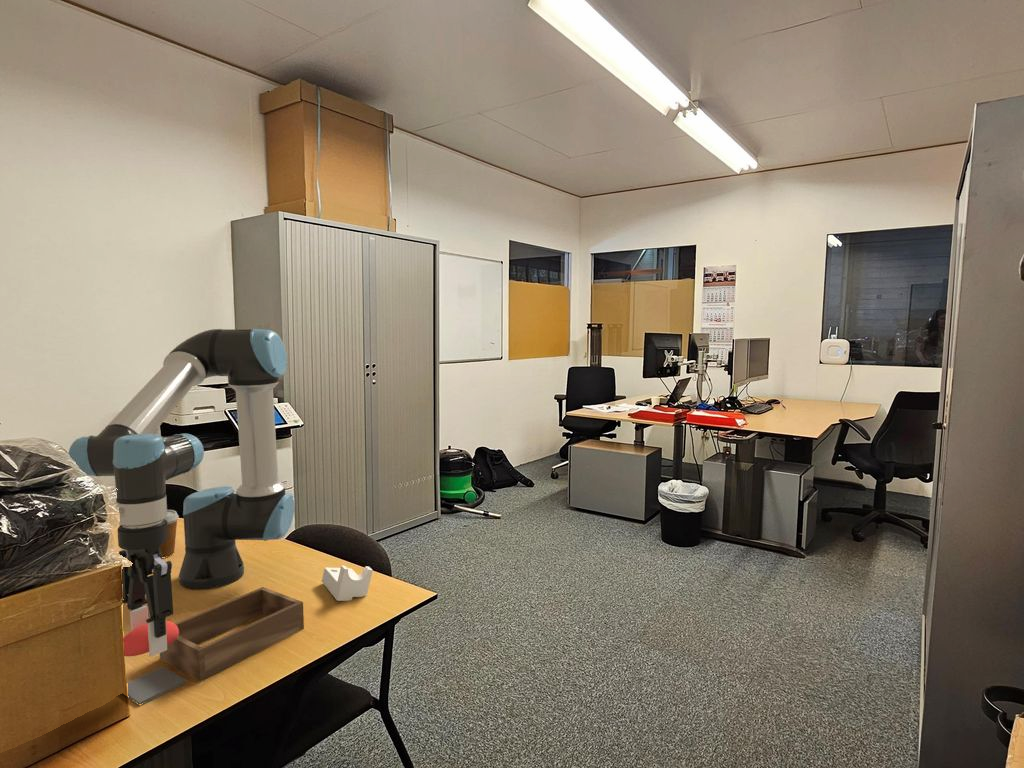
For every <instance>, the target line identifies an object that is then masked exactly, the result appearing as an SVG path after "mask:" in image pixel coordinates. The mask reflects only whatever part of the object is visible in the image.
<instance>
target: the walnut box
mask: <svg viewBox="0 0 1024 768" xmlns="http://www.w3.org/2000/svg"><path fill="white" fill-rule="evenodd" d="M261 616H264V617H263V618H261V619H258V620H256V621H254V622H252V623H249V624H247V625H245V626H243V627H241V628H239V629H236V630H234V631H232V632H230V633H228V634H225V635H223V636H221V637H219V638H217V639H215V640H213V641H211V642H208V643H206V644H204V645H202V646H200V644H202V643H204V642H207V641H210V640H211V639H213V638H216V637H217V636H220V635H222V634H224V633H227V632H229V631H231V630H233V629H235V628H238V627H239V626H241V625H244V624H246V623H248V622H250V621H253V620H255V619H257V618H259V617H261ZM304 617H305V615H304V601H301V600H298V599H296V598H293V597H290V596H287V595H286V594H283V593H280V592H277V591H275V590H272V589H270V588H266V587H264V586H262V587H260V588H256V589H255V590H252V591H250V592H247V593H244V594H243V595H239V596H237V597H234V598H233V599H231V600H228V601H225V602H223V603H221V604H218V605H215V606H213V607H211V608H209V609H206V610H204V611H201V612H198V613H196V614H195V615H191V616H189V617H187V618H185V619H181V620H180V621H177V622H173V623H174V624H175V625H177V627H178V629H179V635H178V637H177V638H176V639H175V640H174V641H173V642H172V643H170V644H169V645H167V650H166V651H164V652H161V653H159V660H160V661H163V662H164V663H165V664H168V665H170V666H172V667H174V668H175V669H177V670H179V671H180V672H182V673H184V674H186V675H187V676H189V677H191V678H193V679H194V680H196V681H198V682H203V681H205V680H207V679H209V678H211V677H213V676H215V675H217V674H219V673H221V672H222V671H223V672H224V670H227V669H228V668H230V667H232V666H234V665H236V664H238V663H240V662H242V661H244V660H245V659H248V658H249V657H252V656H254V655H255V654H257V653H259V652H261V651H263V650H265V649H267V648H269V647H271V646H273V645H275V644H277V643H280V641H282V640H285V639H287V638H288V637H289V638H290V636H293V635H294V634H296V633H298V632H301V631H302V630H304V629H305V625H304V624H305V623H304V622H305V619H304Z"/></svg>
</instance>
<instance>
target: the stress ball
mask: <svg viewBox="0 0 1024 768" xmlns="http://www.w3.org/2000/svg"><path fill="white" fill-rule="evenodd" d="M174 623H175V622H173V621H169V620H166V633H167V645H169V644H170V643H172V642H173V641H174V640H175V639H176V638H177V637H178V635H179V629H178V627H177V625H175V624H174ZM122 639H123V642H124V656H123V657H136V656H140V655H144V654H147V653H149V640H148V623H147V624H144V625H141V626H139V627H137V628H135V629H134V630H132V631H131V630H130V631H129V632H128V633H127V634H126V635H124V636H123V638H122Z"/></svg>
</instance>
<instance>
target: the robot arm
mask: <svg viewBox="0 0 1024 768" xmlns="http://www.w3.org/2000/svg"><path fill="white" fill-rule="evenodd" d="M287 358H288V355H287V350H286V347H285V344H284V342H283V340H282V339H281V336H280V335H279V334H278V333H276V332H275V331H274V330H271V329H262V328H261V329H260V328H244V329H243V328H241V329H239V328H237V329H235V328H234V329H223V328H222V329H221V328H217V329H216V328H213V329H208V330H204V331H201V332H198V333H197V334H194V335H193V336H191V337H188V338H187V339H185V340H184V341H182V342H180V344H178V345H176V346H175V347H174V348H173V349H172V350H170V352H169V353H168V354H166V356H165V358H164V359H163V361H162V363H163V364H162V365H163V366H162V367H161V368H160V369H159V370H158V371H157V372H156V373H155V375H154V376H153V377H152V378H151V379H150V380H149V381H148V382H147V383H146V384H145V385H144V386H143V387H142V388H141V389H140V391H138V393H136V395H134V397H132V399H131V400H130V401H129V402H128V403H127V404H126V405H125V406H124V407H123V408H122V409H121V410H120V412H119V413H117V415H115V417H114V418H113V419H112V420H111V421H110V422H109V423H108V424H107V425H105V428H104V429H102V430H101V431H100V433H99V434H97V435H95V436H94V435H89V436H82V437H79V438H76V439H75V440H74V441H73V443H72V444H71V445H70V447H69V449H68V453H67V455H68V454H69V455H70V457H71V458H72V459H73V460H74V461H75V462H76V464H77V465H78V466H79V468H80V469H81V470H82V471H83V472H85V473H86V474H87V475H86V476H91V477H92V476H93V477H114V484H115V493H116V492H117V499H116V498H115V503H116V504H115V505H116V508H117V507H119V513H120V523H119V524H118V525H119V526H118V528H117V544H118V548H119V549H122V550H120V551H118V555H119V554H120V555H122V556H123V557H125V558H127V559H128V560H129V561H131V562H132V563H133V564H132V566H130V567H123V569H122V584H123V599H124V600H123V602H122V604H124V605H125V604H126V607H127V609H128V610H129V618H130V621H129V622H130V631H132V630H134V629H135V628H137V627H139V626H141V625H144V624H147V623H148V640H149V652H148V655H149V657H155V656H157V655H160V653H161V652H164V651H166V650H167V633H166V621H167V619H166V618H167V617H170V616H173V615H174V602H173V588H172V568H173V563H172V561H171V560H167V561H164V559H163V558H162V554H161V550H160V546H161V545H162V544H163V543H164V542H166V541H167V539H168V524H167V521H166V520H165V518H166V517H167V510H168V504H167V503H168V502H167V494H166V493H167V491H166V484H167V483H166V481H169V480H171V479H172V478H175V477H178V476H180V475H183V474H186V473H189V472H191V470H192V469H193V470H194V469H195V468H197V467H198V466H199V465H200V464H201V463H202V461H203V459H204V455H205V450H204V445H203V443H202V442H201V440H200V439H199V438H198V437H197V436H195V435H192V434H190V433H179V434H178V433H175V434H173V435H171V436H162V435H160V434H158V433H155V432H156V431H157V430H158V428H160V426H161V425H162V424H163V423H164V421H165V420H166V419H167V418H168V417H169V415H170V414H171V413H172V412H173V411H174V410H175V408H176V407H177V406H178V404H180V402H181V401H183V399H184V397H185V396H186V395H187V394H188V393H189V391H191V389H192V388H193V387H195V386H200V385H201V384H202V383H203V382H204V381H205V379H207V378H211V377H227V383H228V386H229V387H230V388H231V389H232V390H234V392H235V401H236V414H237V429H238V443H239V446H238V447H239V458H240V473H241V475H240V476H241V484H240V486H238V487H237V488H236V491H235V490H234V488H233V486H229V485H225V486H217V487H210V488H205V489H202V490H199V491H196V492H193V493H191V494H189V495H187V496H186V497H185V498H184V501H183V506H182V507H183V510H182V516H183V529H184V533H183V534H184V546H185V554H184V557H183V560H182V563H181V566H180V571H179V574H178V583H179V586H180V587H182V588H184V589H186V590H187V589H188V590H195V591H196V590H199V591H200V590H210V589H215V588H219V587H224V586H226V585H230V584H232V583H234V582H237V580H239V579H241V578H242V577H243V575H244V573H245V565H244V562H243V561H244V560H243V559H242V557H241V555H240V552H239V550H238V547H237V544H236V541H240V540H241V541H243V540H244V541H264V542H265V541H266V542H267V541H273V540H281V539H282V538H284V537H285V536H286V535H287V533H288V532H289V530H290V528H291V525H292V522H293V519H294V517H295V515H294V514H295V511H296V510H295V509H296V508H295V507H296V506H295V505H296V502H295V501H296V500H295V498H294V496H293V494H292V493H291V494H290V493H286V485H285V483H283V482H282V481H281V480H279V470H278V452H277V438H276V437H277V436H276V435H277V434H276V418H275V403H274V402H275V401H274V399H275V398H274V388H276V386H277V385H278V384H279V383H280V380H279V379H280V377H282V376H283V375H285V373H286V371H287V365H288V359H287ZM116 488H117V489H118V490H117V489H116ZM122 584H121V585H122Z"/></svg>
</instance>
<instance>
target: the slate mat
mask: <svg viewBox="0 0 1024 768" xmlns="http://www.w3.org/2000/svg"><path fill="white" fill-rule="evenodd" d="M127 683H128V696H129V698H128V699H129V700H130V699H131V700H130V701H132V700H134V701H135V702H137V703H138V704H142V703H145V702H147V703H148V701H149V702H150V700H151V701H153V700H155V699H157V698H158V697H160V696H163V695H165V694H166V693H169V692H170V691H172V690H175V689H177V688H179V687H180V686H182V685H184V684H187V679H186V678H185V677H183V676H180V674H177V673H176V672H174V671H173V670H170V669H169V668H167V667H165V666H160V667H158V668H156V669H154V670H151V671H150V672H147V673H145V674H143V675H141V676H138V677H137V678H135V679H133V680H130V681H128V682H127ZM135 702H134V703H135ZM138 704H137V705H138ZM145 704H146V703H145Z"/></svg>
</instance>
